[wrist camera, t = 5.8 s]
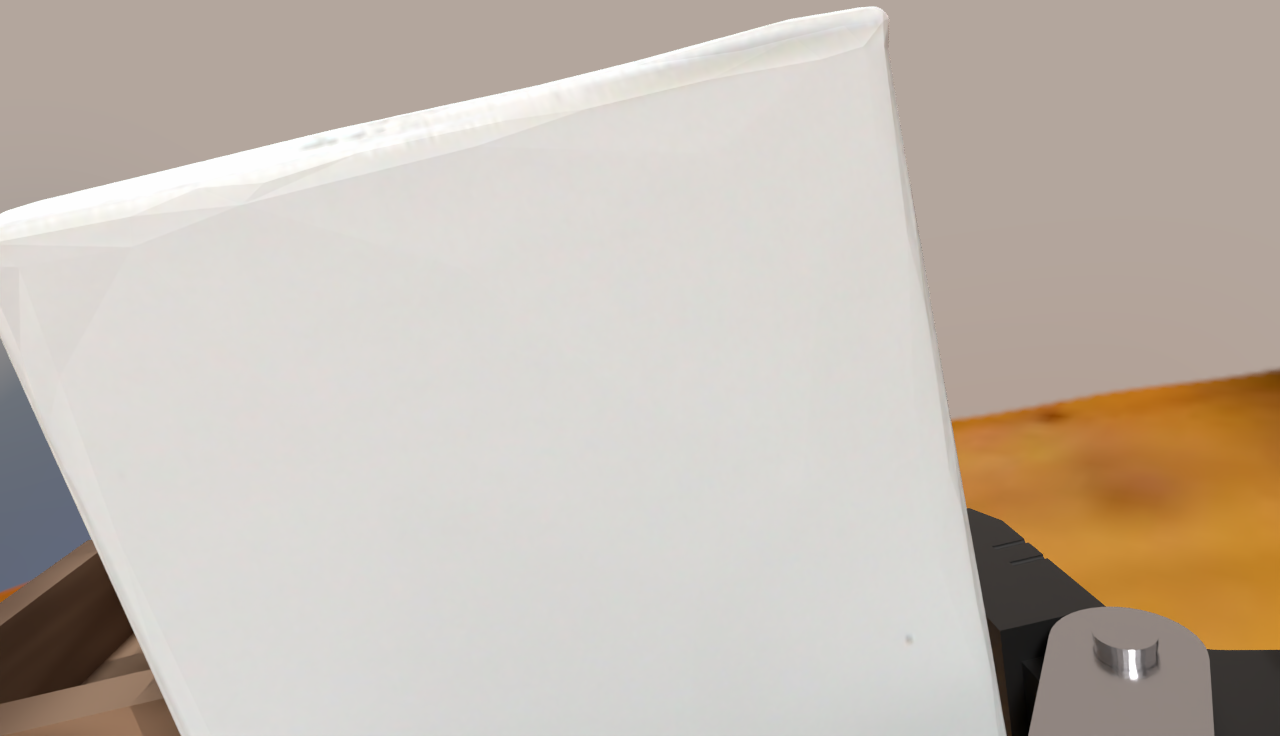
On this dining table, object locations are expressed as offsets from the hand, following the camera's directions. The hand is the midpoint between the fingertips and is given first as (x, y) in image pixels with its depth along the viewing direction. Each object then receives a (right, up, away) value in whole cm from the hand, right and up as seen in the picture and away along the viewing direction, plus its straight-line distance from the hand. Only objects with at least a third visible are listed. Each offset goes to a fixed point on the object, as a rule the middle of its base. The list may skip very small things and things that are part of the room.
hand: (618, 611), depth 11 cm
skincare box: (+2, -8, 0) cm, 8 cm away
